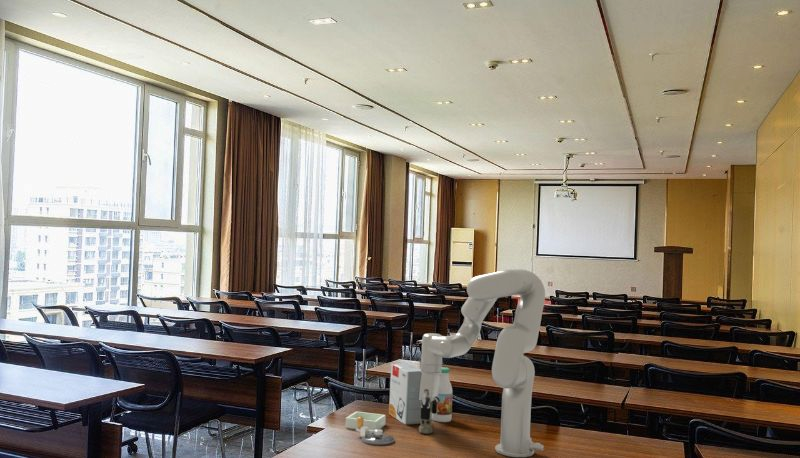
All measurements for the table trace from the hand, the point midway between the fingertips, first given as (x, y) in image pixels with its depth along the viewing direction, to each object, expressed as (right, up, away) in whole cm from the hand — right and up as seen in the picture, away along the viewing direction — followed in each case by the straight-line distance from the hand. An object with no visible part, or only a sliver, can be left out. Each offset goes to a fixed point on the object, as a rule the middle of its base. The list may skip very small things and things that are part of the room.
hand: (428, 416), depth 239 cm
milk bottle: (+6, -7, +18) cm, 20 cm away
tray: (-23, -5, +4) cm, 24 cm away
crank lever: (-21, -3, -12) cm, 24 cm away
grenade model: (0, -6, 0) cm, 6 cm away
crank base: (-18, -4, -14) cm, 23 cm away
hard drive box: (-8, -6, +17) cm, 20 cm away
